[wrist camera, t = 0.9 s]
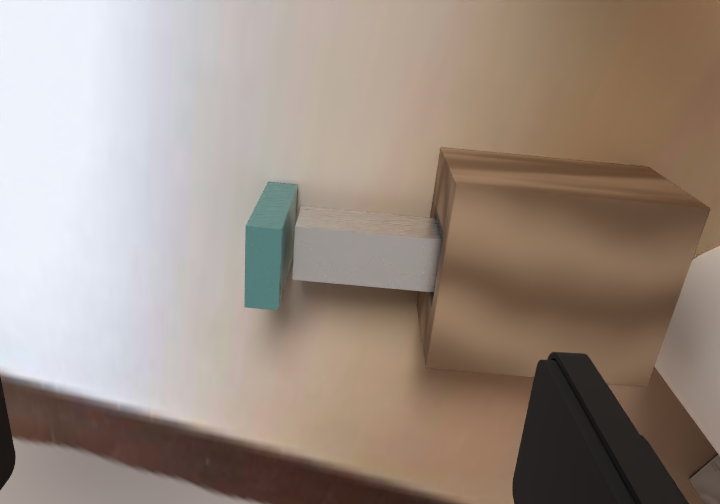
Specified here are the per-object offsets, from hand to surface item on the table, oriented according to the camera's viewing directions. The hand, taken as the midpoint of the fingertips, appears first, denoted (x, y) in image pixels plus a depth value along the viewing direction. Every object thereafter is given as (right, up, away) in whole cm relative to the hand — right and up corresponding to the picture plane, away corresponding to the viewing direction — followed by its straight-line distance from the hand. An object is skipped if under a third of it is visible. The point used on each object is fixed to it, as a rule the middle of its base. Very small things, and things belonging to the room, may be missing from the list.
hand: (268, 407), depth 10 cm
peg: (+2, +4, +32) cm, 32 cm away
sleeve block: (+13, +4, +32) cm, 35 cm away
